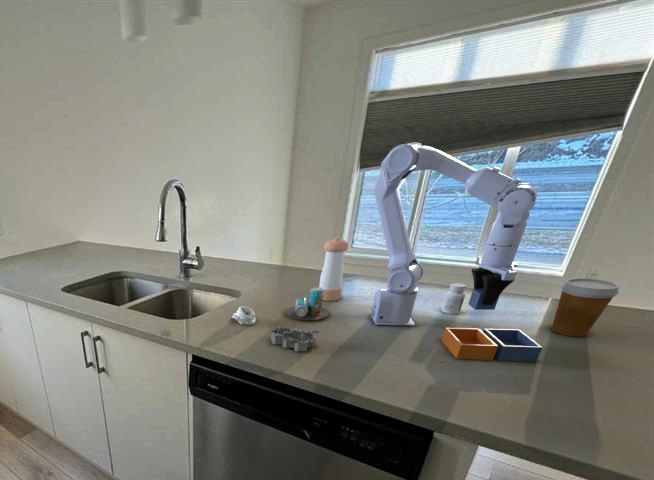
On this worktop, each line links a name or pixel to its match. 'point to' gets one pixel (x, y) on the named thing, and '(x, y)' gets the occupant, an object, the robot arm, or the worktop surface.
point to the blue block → (480, 301)
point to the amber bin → (469, 343)
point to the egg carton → (294, 338)
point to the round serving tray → (309, 307)
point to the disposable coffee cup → (582, 305)
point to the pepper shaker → (333, 269)
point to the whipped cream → (244, 315)
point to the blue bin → (513, 345)
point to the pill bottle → (454, 299)
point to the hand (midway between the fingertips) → (482, 301)
